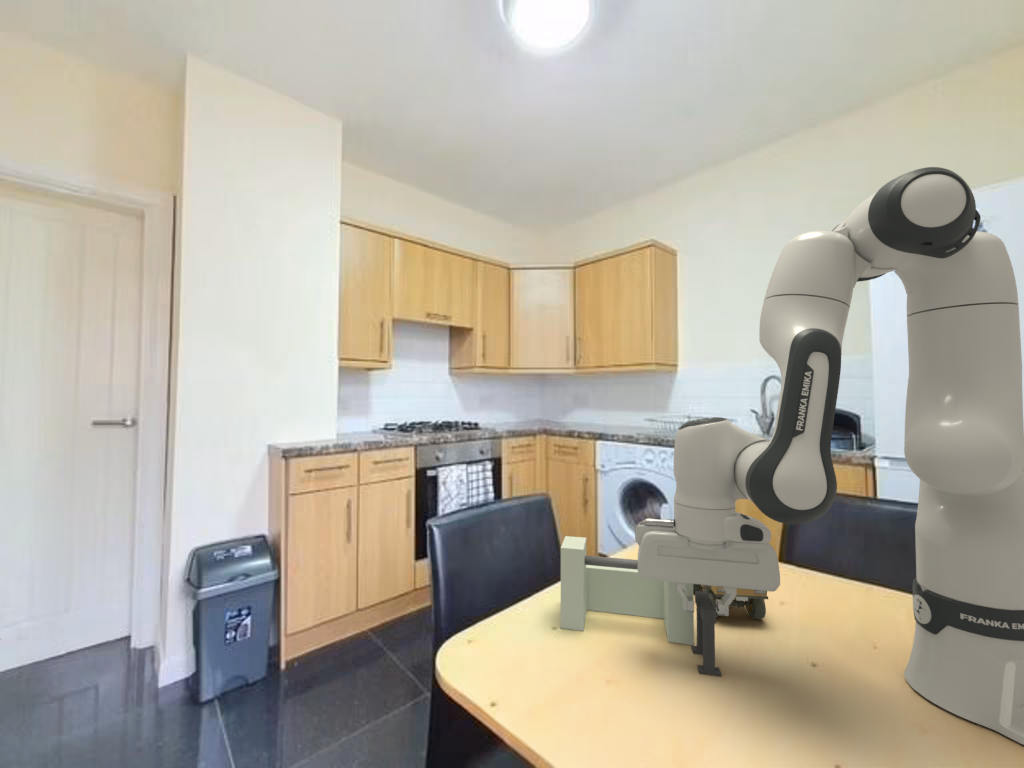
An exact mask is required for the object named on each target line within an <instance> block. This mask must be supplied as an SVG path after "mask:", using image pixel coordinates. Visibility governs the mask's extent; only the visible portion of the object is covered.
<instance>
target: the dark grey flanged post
mask: <svg viewBox="0 0 1024 768" xmlns="http://www.w3.org/2000/svg"><path fill="white" fill-rule="evenodd" d="M694 604H695V606H696V645H691V650H692V654H696V655H697V654H698V655H702V664H697V665H696V666H697V671H698V674H699V675H706V676H715V677H720V678H721V677H722V672H721V669H720V667H717V666H716V637H715V636H716V635H715V633H716V631H715V628H716V627H715V626H716V625H715V624H717V617H716V610H715V608H714V606H713V604H712V602H711V600H710V597H709V595H708V593H707V592H704V591H703V590H700V591H694Z"/></svg>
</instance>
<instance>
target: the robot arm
mask: <svg viewBox="0 0 1024 768" xmlns="http://www.w3.org/2000/svg"><path fill="white" fill-rule="evenodd" d="M980 224H981V214H980V212H979V211H978V210H977V204H976V199H975V196H974V194H973V191H972V189H971V187H970V186H969V184H968V183H967V181H965V179H963V177H962V176H960V175H959V174H958V173H956V172H954V171H952V170H950V169H948V168H944V167H940V166H939V167H938V166H930V167H929V166H928V167H923V168H922V167H921V168H918V169H914V170H911V171H908V172H905V173H904V174H901V175H899V176H897V177H895V178H893V179H892V180H890V181H888V182H887V183H885V184H884V185H882V186H881V187H880V188H879V189H878V191H875V192H874V193H873V194H872V195H870V196H868V197H866V198H865V199H864V200H863V201H862V202H861V203H859V204H858V205H857V206H856V207H855V208H853V210H852V211H851V212H850V214H848V215H847V216H846V217H845V218H844V219H843V220H842V221H841V222H840V223H839V224H837V226H835V227H834V228H833V229H832V230H823V229H821V230H820V229H819V230H810V231H807V232H803V233H800V234H799V235H796V236H794V237H792V238H791V239H790V240H789V241H788V242H787V243H786V244H785V245H784V247H783V249H782V250H781V253H780V254H779V257H778V258H777V261H776V264H775V266H774V267H773V271H772V274H771V276H770V279H769V282H768V284H767V289H766V292H765V295H764V299H763V304H762V307H761V312H760V313H761V314H760V317H759V334H758V335H759V343H760V345H761V347H762V348H763V350H764V351H765V352H766V353H767V354H768V355H769V357H771V358H772V359H773V361H775V363H776V364H777V366H778V368H779V371H780V379H781V383H780V384H781V385H780V392H779V398H778V405H777V409H776V415H775V421H774V427H773V432H772V436H771V438H770V439H767V438H764V437H761V436H758V435H757V434H753V433H752V432H750V431H747V430H745V429H743V428H741V427H739V426H737V425H736V424H734V423H733V422H731V421H730V420H729V419H728V418H725V417H722V416H721V417H719V416H718V417H717V416H716V417H705V418H699V419H693V420H690V421H689V420H688V421H686V422H685V423H683V424H681V426H680V427H679V428H678V429H677V431H676V434H675V439H674V448H673V449H674V450H673V476H674V479H675V484H676V485H675V493H674V496H673V519H668V518H667V519H666V518H665V519H664V518H663V519H661V518H660V519H657V518H651V517H649V518H647V517H646V518H644V520H641V521H639V522H638V523H637V524H636V525H635V529H634V538H635V542H636V544H637V545H638V549H637V550H638V552H637V559H636V560H637V569H638V573H639V575H640V576H641V577H642V578H643V579H646V580H657V581H667V582H675V585H676V588H677V590H678V592H679V594H680V595H681V597H682V599H683V609H684V611H686V612H695V599H694V596H693V597H689V596H687V595H686V593H685V592H684V590H686V583H688V584H699V585H701V586H707V585H709V586H719V587H724V589H725V591H726V593H725V594H724V596H723V597H721V600H719V599H716V605H717V606H716V612H717V613H718V615H719V616H722V617H723V616H725V617H728V616H729V615H730V613H729V612H730V611H729V610H730V606H729V605H730V604H731V602H732V601H733V600H735V599H736V598H735V597H736V595H737V589H736V588H740V589H751V590H761V591H767V592H776V590H778V589H779V588H780V586H781V574H780V573H781V572H780V571H781V570H780V565H779V559H778V555H777V552H776V550H775V548H774V547H773V545H771V542H772V532H771V530H770V529H769V527H768V526H767V524H764V523H763V522H762V521H760V520H759V519H757V518H755V517H753V516H750V515H747V514H743V513H741V512H738V511H736V502H737V501H738V500H741V499H742V500H749V501H750V502H752V503H753V504H754V506H755V507H756V508H757V509H758V510H759V512H761V513H762V514H764V515H765V516H766V517H767V518H769V519H771V520H773V521H775V522H778V523H781V524H783V525H784V524H785V525H794V526H795V525H804V524H808V523H811V522H814V521H816V520H818V519H820V518H821V517H822V516H824V515H825V514H826V513H827V512H828V511H829V510H831V509H830V508H831V507H832V505H833V504H834V502H835V500H836V497H837V492H838V491H837V490H838V482H837V475H836V471H835V467H834V463H833V459H832V452H831V451H832V448H831V447H832V437H833V430H834V422H835V415H836V408H837V400H838V394H839V387H840V380H841V379H840V378H841V371H842V349H843V348H842V347H843V346H842V345H843V340H844V336H845V329H846V326H847V321H848V316H849V312H850V308H851V303H852V298H853V293H854V292H853V291H854V289H855V288H856V287H855V286H856V284H857V282H858V283H859V282H866V281H871V280H875V279H878V278H880V277H883V276H884V275H886V274H887V273H891V272H894V274H896V275H897V277H898V278H899V279H900V280H901V283H902V284H903V286H904V289H905V293H906V327H907V328H906V331H907V332H906V333H907V347H908V349H907V351H908V352H907V353H908V379H907V387H906V389H907V390H906V397H905V398H906V401H905V413H904V417H905V419H904V444H903V445H904V447H903V449H904V450H903V453H904V458H905V461H906V463H907V465H908V467H909V469H910V470H911V472H912V473H913V474H914V475H915V476H916V477H917V478H918V479H919V491H918V500H917V501H918V502H917V509H916V510H917V511H916V518H915V519H916V520H915V523H914V533H915V534H914V535H915V567H916V569H915V573H916V577H915V578H914V579H913V581H912V608H913V609H912V610H913V617H914V621H915V628H914V635H913V642H912V646H911V652H910V655H909V659H908V662H907V665H906V667H905V670H904V671H903V676H904V679H905V680H906V682H907V683H908V685H910V687H911V688H912V689H913V690H915V691H916V692H917V694H919V695H921V696H923V697H924V698H925V699H927V700H928V701H930V702H931V703H933V704H935V705H937V706H938V707H940V708H942V709H943V710H946V711H948V712H950V713H951V714H954V715H956V716H958V717H960V718H963V719H965V720H967V721H969V722H972V723H976V724H977V725H980V726H983V727H986V728H988V729H989V730H994V731H995V732H998V733H1000V734H1001V735H1003V736H1005V737H1008V738H1009V739H1012V740H1013V741H1015V742H1017V743H1019V744H1021V745H1023V746H1024V405H1023V404H1024V403H1023V402H1024V400H1023V359H1022V344H1021V343H1022V342H1021V325H1020V323H1021V322H1020V321H1021V320H1020V307H1019V295H1018V287H1017V282H1016V277H1015V271H1014V268H1013V264H1012V262H1011V258H1010V255H1009V252H1008V250H1007V247H1006V245H1005V243H1004V241H1003V240H1002V239H1001V238H1000V237H998V236H997V235H995V234H992V233H989V232H986V231H980V230H979V231H978V229H979V227H980ZM973 225H974V227H973Z"/></svg>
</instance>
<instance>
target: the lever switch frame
mask: <svg viewBox="0 0 1024 768" xmlns="http://www.w3.org/2000/svg"><path fill="white" fill-rule="evenodd" d="M637 560H638V559H632V558H631V559H630V558H619V557H608V556H607V557H606V556H599V555H598V556H597V555H596V556H595V555H587V537H583V536H568V535H565V536H564V539H563V541H562V544H561V546H560V629H565V630H573V631H579V632H581V631H582V632H584V630H585V624H586V618H587V617H586V616H587V611H594V612H601V613H611V614H619V615H627V616H636V617H643V618H644V617H645V618H652V619H654V618H655V619H662V620H663V623H664V628H665V633H666V636H667V638H666V639H667V642H668V643H674V644H682V645H691V646H692V645H693V646H695V633H694V632H695V631H694V630H695V629H694V627H695V621H694V620H695V619H694V616H695V615H694V612H695V611H694V612H686V611H684V609H683V599H682V597H681V595H680V594H679V592H678V590H677V588H676V585H675V582H667V581H657V580H646V579H643V578H642V577H641V576H640V575H639V573H638V569H637ZM684 592H685V593H686V595H687V596H689V597H693V598H694V591H693V584H688V583H686V590H684Z"/></svg>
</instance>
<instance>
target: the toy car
mask: <svg viewBox="0 0 1024 768" xmlns="http://www.w3.org/2000/svg"><path fill="white" fill-rule="evenodd" d="M701 588H702V585H699V584H693V592H695V591H701ZM736 589H737V595H736V597H735V598H734V600H733V601H732V602H731V604H730V605H729V607H735V608H744V607H745V609H746V613H747V615H748V616H749V617H750V619H754V620H763V619H764V618H766V614H767V608H766V602H765V600H769V596H768V591H761V590H751V589H740V588H736ZM702 591H704V592H707V593H708V595H709V597H710V600H711V602H712V604H713V606H714V608H715V610H716V606H717V605H716V599H719V600H721V599H722V598H723V596H724V594H725V593H726V591H725V589H724V587H719V586H709V585H706V587H704V588H702ZM719 616H720V615H718V613H717V612H716V618H718V617H719Z"/></svg>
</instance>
